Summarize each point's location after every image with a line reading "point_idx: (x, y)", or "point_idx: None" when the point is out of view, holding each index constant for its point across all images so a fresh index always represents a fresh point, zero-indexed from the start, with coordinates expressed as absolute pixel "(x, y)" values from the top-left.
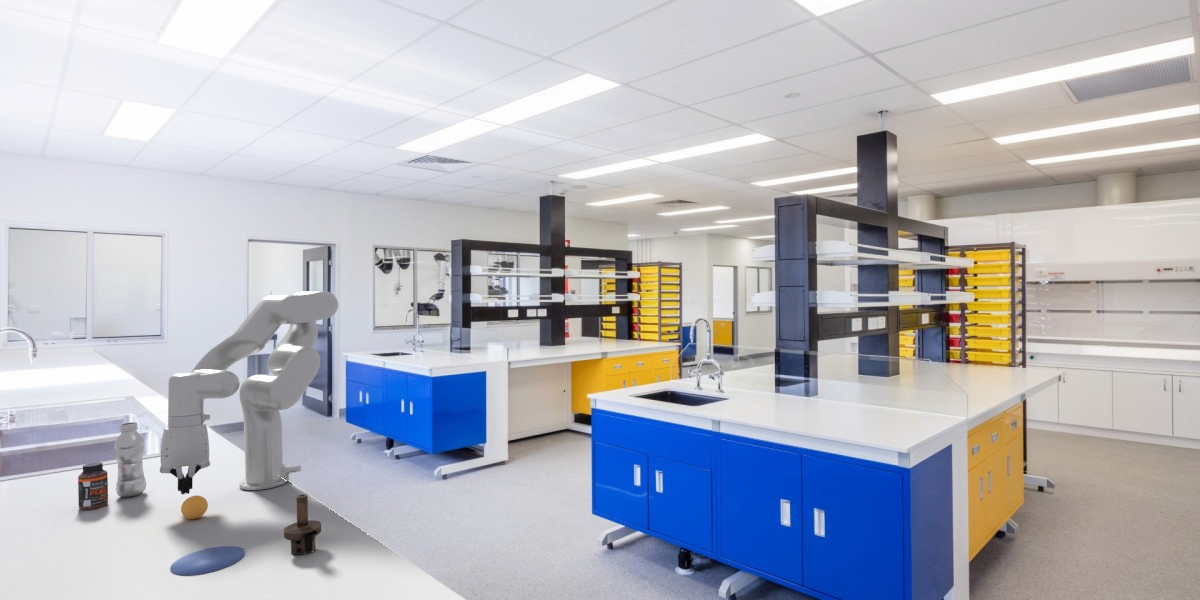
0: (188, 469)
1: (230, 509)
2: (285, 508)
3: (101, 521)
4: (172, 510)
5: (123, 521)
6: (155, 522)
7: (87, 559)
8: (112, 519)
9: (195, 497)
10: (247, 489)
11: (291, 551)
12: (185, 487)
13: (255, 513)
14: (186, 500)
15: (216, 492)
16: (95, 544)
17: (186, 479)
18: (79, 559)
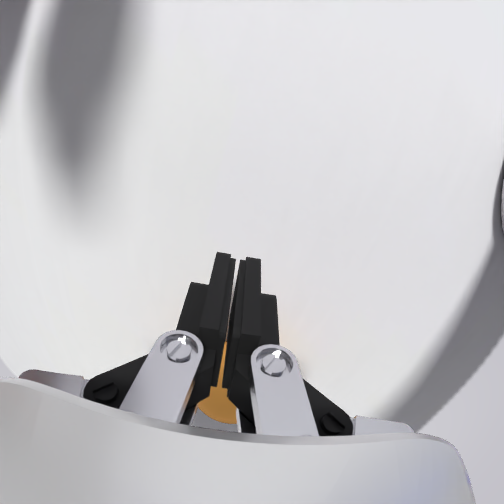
0: (253, 406)
1: (345, 355)
2: (401, 412)
3: (2, 132)
4: (195, 199)
5: (44, 189)
6: (128, 291)
7: (48, 368)
8: (21, 134)
9: (229, 422)
10: (502, 214)
11: None
12: (232, 311)
13: (353, 407)
14: (201, 408)
15: (442, 94)
16: (32, 317)
17: (223, 387)
18: (36, 358)
